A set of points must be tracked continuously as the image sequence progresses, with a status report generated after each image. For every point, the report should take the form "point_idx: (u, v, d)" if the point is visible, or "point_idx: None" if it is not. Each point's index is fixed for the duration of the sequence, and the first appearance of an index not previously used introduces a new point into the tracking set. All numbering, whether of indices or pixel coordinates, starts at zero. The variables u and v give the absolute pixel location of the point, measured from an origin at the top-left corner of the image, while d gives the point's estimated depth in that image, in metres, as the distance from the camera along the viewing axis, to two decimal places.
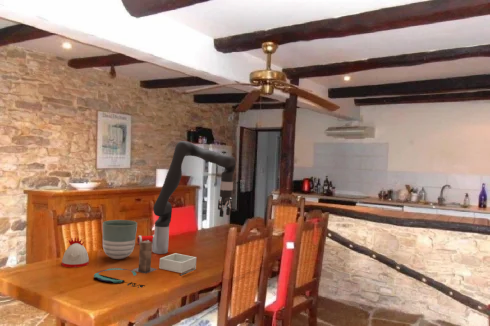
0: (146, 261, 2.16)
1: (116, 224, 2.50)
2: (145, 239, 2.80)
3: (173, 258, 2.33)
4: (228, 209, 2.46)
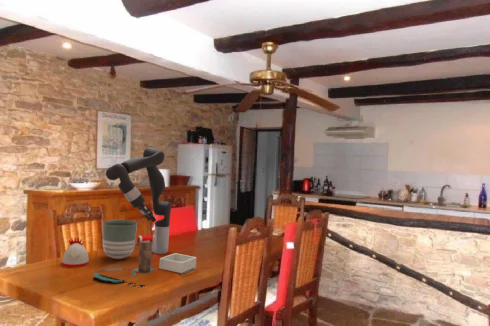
0: (146, 261, 2.16)
1: (116, 224, 2.50)
2: (145, 239, 2.80)
3: (173, 258, 2.33)
4: None
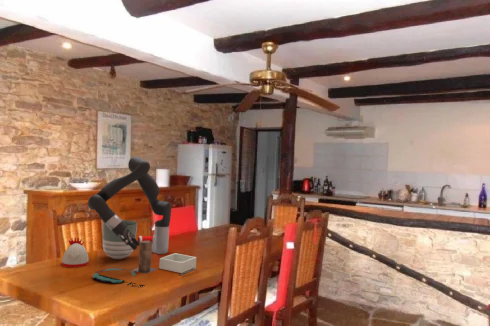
0: (146, 261, 2.16)
1: None
2: (145, 239, 2.79)
3: (173, 258, 2.33)
4: None
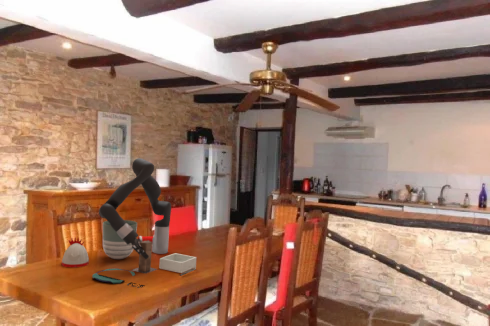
0: (146, 261, 2.16)
1: None
2: (145, 240, 2.79)
3: (173, 258, 2.33)
4: None
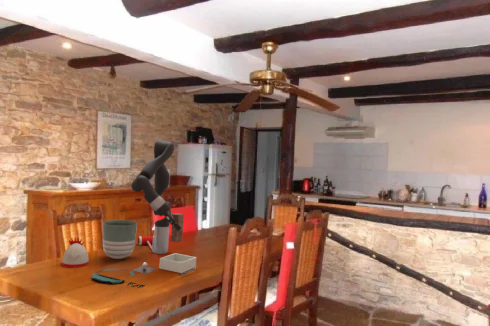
0: (178, 232, 2.22)
1: (116, 224, 2.50)
2: (145, 240, 2.78)
3: (173, 258, 2.33)
4: None
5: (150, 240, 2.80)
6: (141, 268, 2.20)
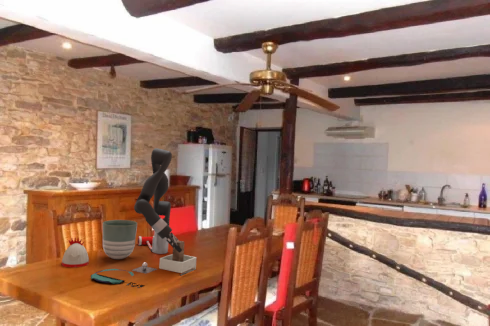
0: (179, 260, 2.23)
1: (116, 224, 2.50)
2: (145, 240, 2.78)
3: None
4: None
5: (150, 240, 2.79)
6: (141, 268, 2.20)
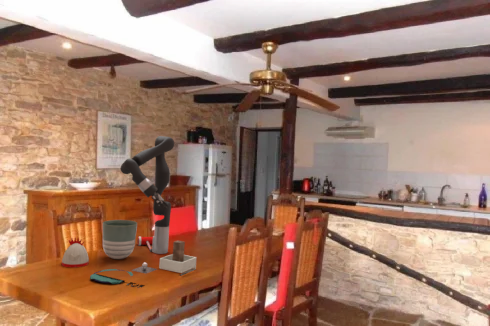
0: (179, 260, 2.23)
1: (116, 224, 2.50)
2: (145, 240, 2.77)
3: None
4: None
5: (150, 240, 2.78)
6: (141, 268, 2.20)
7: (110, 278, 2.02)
